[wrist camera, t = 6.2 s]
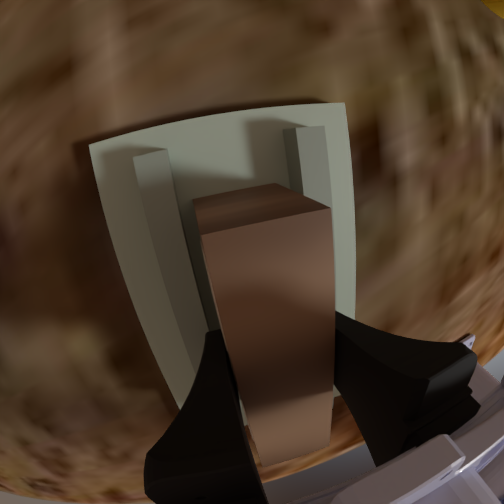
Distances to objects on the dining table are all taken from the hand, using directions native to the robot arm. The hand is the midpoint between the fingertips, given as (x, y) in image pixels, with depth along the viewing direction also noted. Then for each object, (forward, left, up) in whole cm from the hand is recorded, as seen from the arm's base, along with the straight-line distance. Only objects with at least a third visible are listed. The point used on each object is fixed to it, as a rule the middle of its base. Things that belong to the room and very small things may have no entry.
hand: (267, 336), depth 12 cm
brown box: (0, 0, -2) cm, 2 cm away
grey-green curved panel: (0, 0, -3) cm, 3 cm away
